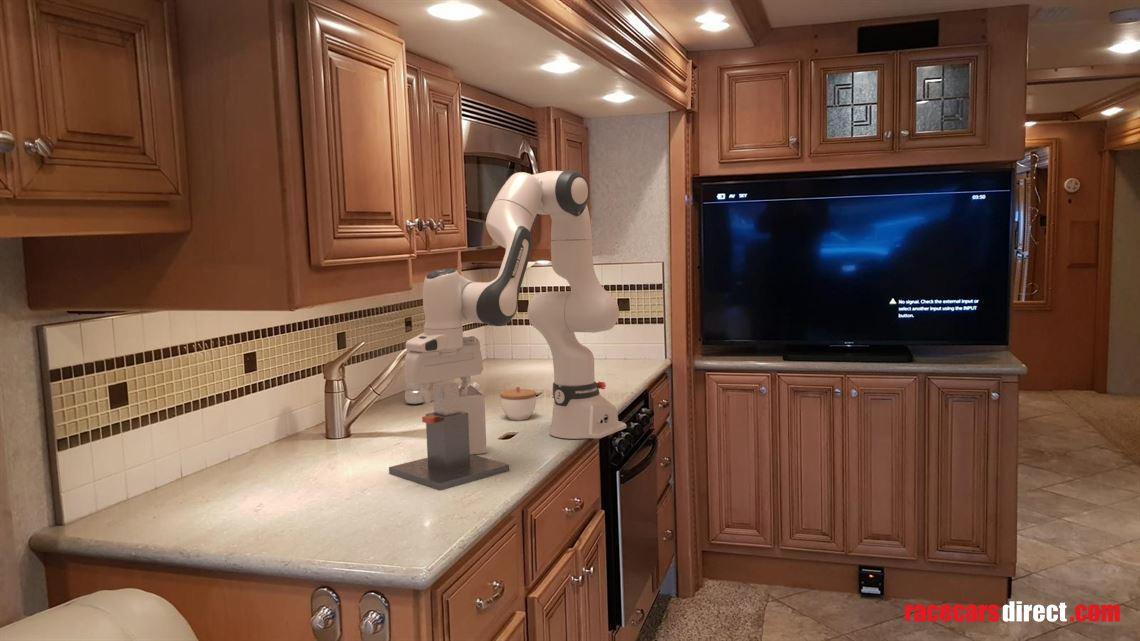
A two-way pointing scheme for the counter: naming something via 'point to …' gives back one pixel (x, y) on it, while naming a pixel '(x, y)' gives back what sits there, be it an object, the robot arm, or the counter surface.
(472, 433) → the milk carton
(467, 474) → the jack base
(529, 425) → the counter surface
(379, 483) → the counter surface
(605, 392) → the counter surface
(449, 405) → the block
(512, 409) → the lidded jar
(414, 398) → the plastic bottle
